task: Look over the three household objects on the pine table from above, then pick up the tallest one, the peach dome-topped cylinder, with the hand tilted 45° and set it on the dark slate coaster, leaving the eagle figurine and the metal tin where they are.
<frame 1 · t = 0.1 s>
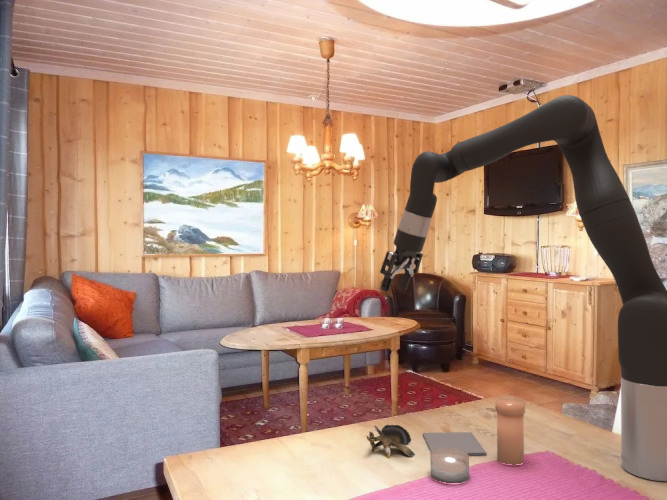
hand: (393, 289, 130), 31 cm above the table, tool tilted 20°, fingers open, 8 cm apart
peach dome-topped cylinder: (510, 460, 99), on the table
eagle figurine: (391, 455, 103), on the table
slate coaster: (452, 445, 107), on the table
metal tin: (449, 476, 93), on the table
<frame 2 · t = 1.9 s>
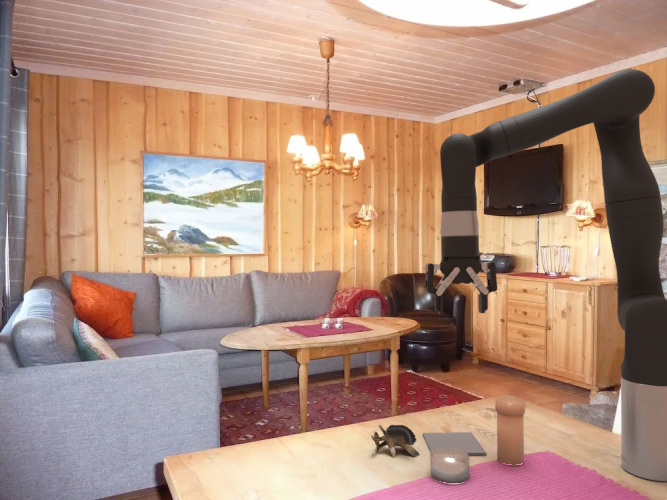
hand: (461, 313, 102), 29 cm above the table, tool pointing down, fingers open, 8 cm apart
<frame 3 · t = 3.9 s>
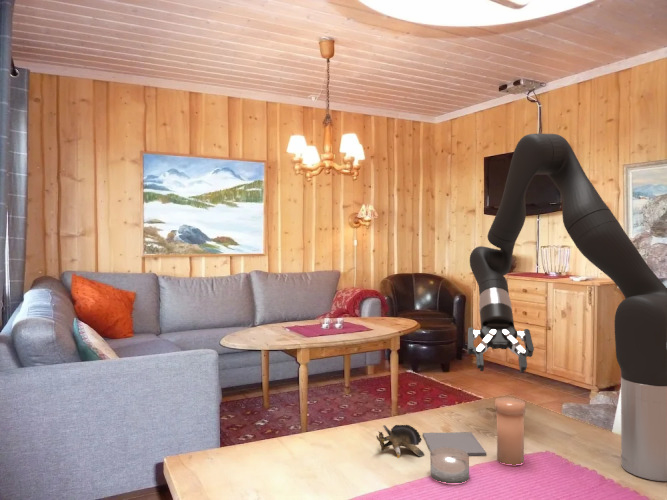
hand: (502, 370, 110), 15 cm above the table, tool tilted 45°, fingers open, 8 cm apart
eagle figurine: (400, 454, 103), on the table
everything else where it was.
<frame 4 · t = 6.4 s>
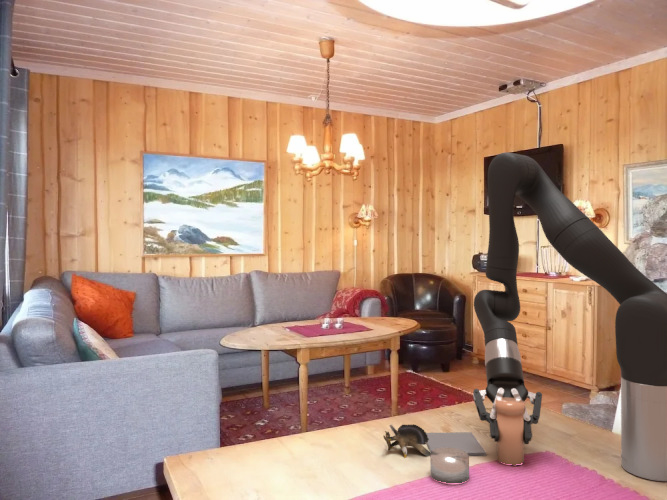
hand: (511, 440, 97), 5 cm above the table, tool tilted 45°, fingers closed on peach dome-topped cylinder, 5 cm apart
peach dome-topped cylinder: (510, 460, 99), on the table, touching gripper
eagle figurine: (407, 454, 103), on the table
everything else where it was.
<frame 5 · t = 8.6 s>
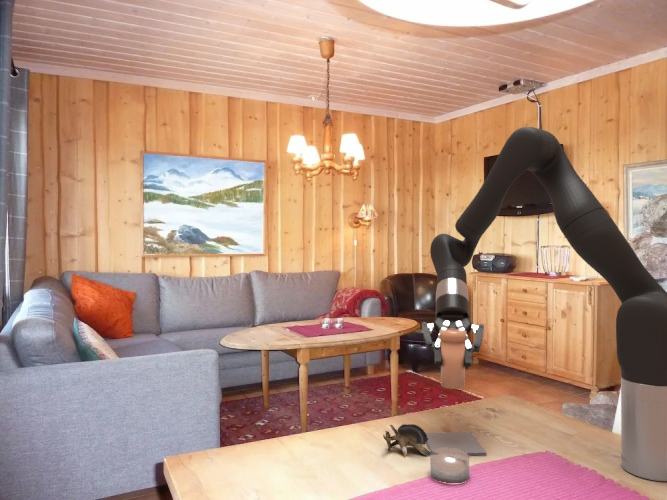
hand: (453, 366, 105), 17 cm above the table, tool tilted 45°, fingers closed on peach dome-topped cylinder, 5 cm apart
peach dome-topped cylinder: (452, 385, 107), point 13 cm above the table, touching gripper
everything else where it was.
when the fingers open (7 cm above the table, at t = 11.1 s): peach dome-topped cylinder drops 1 cm, resting on slate coaster.
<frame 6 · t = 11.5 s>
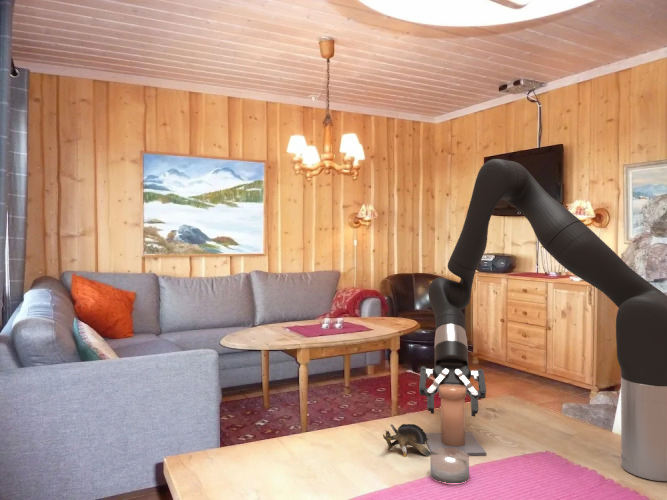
hand: (452, 413, 106), 7 cm above the table, tool tilted 45°, fingers open, 8 cm apart
peach dome-topped cylinder: (453, 441, 107), point 1 cm above the table, touching slate coaster
everything else where it was.
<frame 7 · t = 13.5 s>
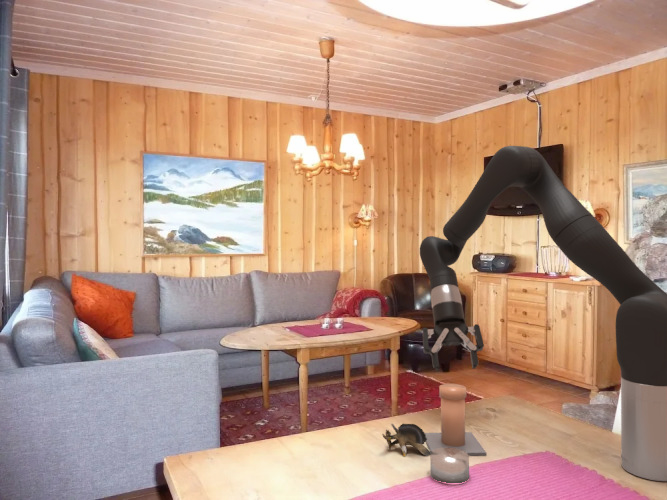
hand: (456, 368, 118), 14 cm above the table, tool tilted 30°, fingers open, 8 cm apart
nothing on the table moved.
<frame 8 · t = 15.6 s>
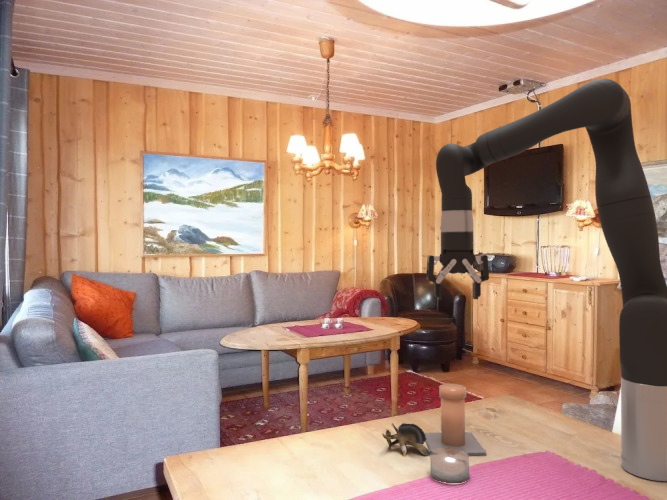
hand: (457, 299, 118), 30 cm above the table, tool pointing down, fingers open, 8 cm apart
nothing on the table moved.
at the end: peach dome-topped cylinder inside the target area on the slate coaster (0.1 cm from its centre), point 0.6 cm above the slate coaster's base; peach dome-topped cylinder tilted 0°; the gripper is holding nothing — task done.
